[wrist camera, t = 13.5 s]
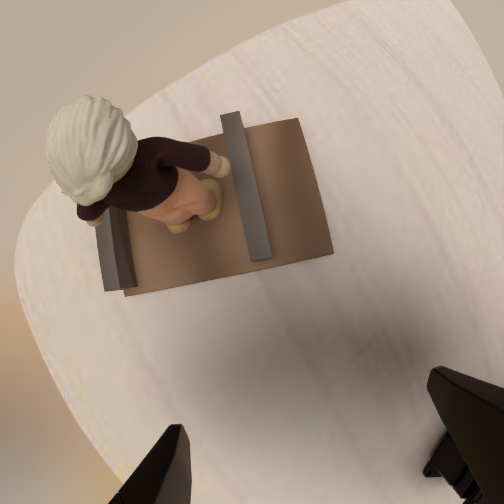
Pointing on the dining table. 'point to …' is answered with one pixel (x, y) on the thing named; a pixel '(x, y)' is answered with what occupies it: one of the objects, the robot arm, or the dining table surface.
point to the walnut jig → (226, 217)
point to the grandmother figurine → (130, 168)
